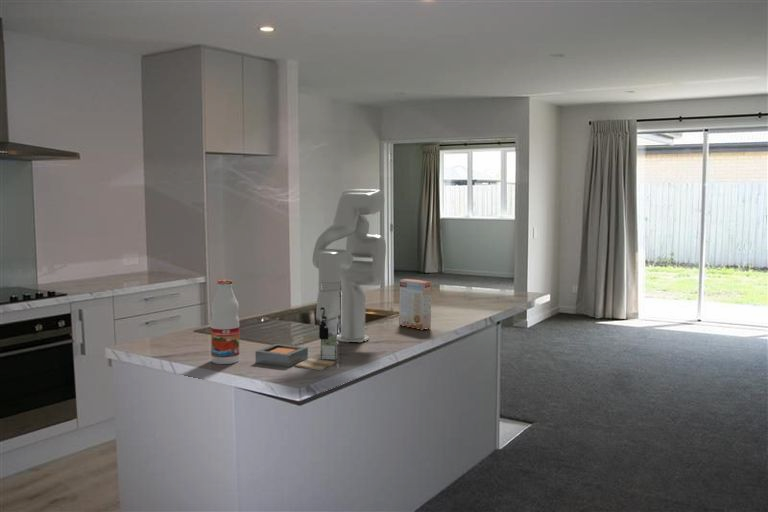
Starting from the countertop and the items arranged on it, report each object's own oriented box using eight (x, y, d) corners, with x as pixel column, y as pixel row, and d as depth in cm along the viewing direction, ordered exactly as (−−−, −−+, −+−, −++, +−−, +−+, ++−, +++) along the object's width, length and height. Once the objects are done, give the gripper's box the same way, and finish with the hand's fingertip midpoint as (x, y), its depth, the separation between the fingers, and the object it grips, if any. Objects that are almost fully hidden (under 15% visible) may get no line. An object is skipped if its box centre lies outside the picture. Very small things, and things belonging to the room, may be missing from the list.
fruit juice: (239, 357, 231) (239, 278, 229) (239, 364, 222) (238, 281, 219) (212, 358, 229) (211, 278, 227) (210, 365, 220) (209, 282, 218)
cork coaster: (309, 359, 229) (309, 358, 229) (335, 363, 225) (335, 361, 225) (294, 366, 220) (295, 364, 220) (321, 370, 216) (321, 368, 216)
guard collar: (275, 354, 236) (275, 343, 236) (307, 358, 231) (307, 347, 231) (255, 362, 224) (255, 351, 224) (288, 367, 219) (288, 355, 219)
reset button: (278, 350, 232) (278, 347, 232) (296, 352, 229) (296, 349, 229) (267, 354, 225) (267, 351, 225) (285, 356, 223) (285, 354, 223)
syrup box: (337, 356, 235) (337, 316, 234) (336, 360, 229) (337, 319, 228) (321, 356, 235) (321, 316, 233) (320, 360, 229) (320, 319, 228)
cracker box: (431, 329, 286) (432, 281, 284) (421, 331, 281) (422, 282, 279) (407, 324, 296) (408, 278, 294) (398, 326, 291) (399, 279, 289)
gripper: (331, 283, 239) (330, 331, 241) (307, 289, 223) (307, 340, 225) (349, 284, 236) (349, 333, 238) (327, 290, 220) (327, 342, 222)
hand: (328, 336), depth 231 cm, fingers closed on syrup box, 7 cm apart
